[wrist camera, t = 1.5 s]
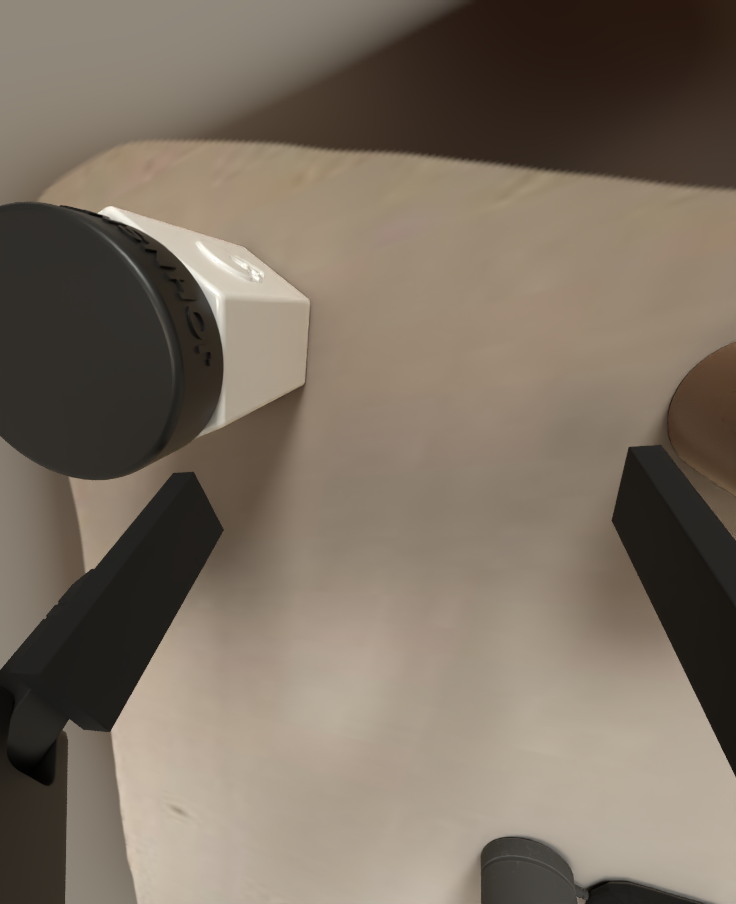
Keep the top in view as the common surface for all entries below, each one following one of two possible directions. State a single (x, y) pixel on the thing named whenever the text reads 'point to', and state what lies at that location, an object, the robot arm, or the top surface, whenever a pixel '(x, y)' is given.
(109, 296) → the jar
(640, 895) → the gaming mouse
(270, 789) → the top surface
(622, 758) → the top surface
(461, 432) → the top surface
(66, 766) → the robot arm
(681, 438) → the jam jar
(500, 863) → the flashlight
